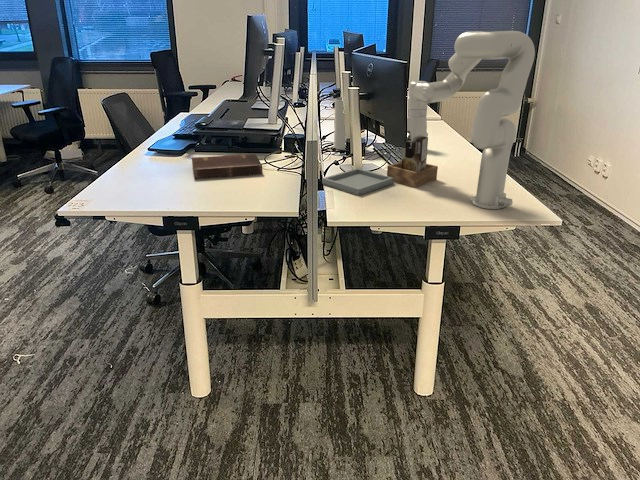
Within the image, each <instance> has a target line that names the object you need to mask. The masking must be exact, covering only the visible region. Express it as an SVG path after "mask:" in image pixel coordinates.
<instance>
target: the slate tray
mask: <svg viewBox="0 0 640 480" xmlns="http://www.w3.org/2000/svg"><path fill="white" fill-rule="evenodd" d="M394 183H395V182H394V178H392V177H389V176H387V175H384V174H380V173H377V172H373V171H369V170H367V169H363V168H358V167H357V168H353V169H350V170H347V171H343V172H339V173H336V174H332V175H329V176H326V177H323V178H321V184H322V185H324V186H326V187H330V188H332V189H333V188H334V189H337V190H339V191H342V192H345V193H349V194H352V195H356V196H361V195H364V194H369V193H370V192H373V191H376V190H379V189H382V188H385V187H388V186H390V185H391V186H392V185H393V184H394Z"/></svg>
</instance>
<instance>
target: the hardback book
mask: <svg viewBox="0 0 640 480" xmlns="http://www.w3.org/2000/svg"><path fill="white" fill-rule="evenodd" d="M191 163H192V171H193V176H194V177H193V178H194V180H203V179H204V180H205V179H218V178H219V179H220V178H230V177H231V178H234V177H247V176H261V175H263V165H262V164H263V163H261V161H260V159H259V157H258V155H257V154H256V153H251V154H235V155H234V154H233V155H232V154H231V155H217V156H215V155H214V156H201V157H198V156H197V157H191Z"/></svg>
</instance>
